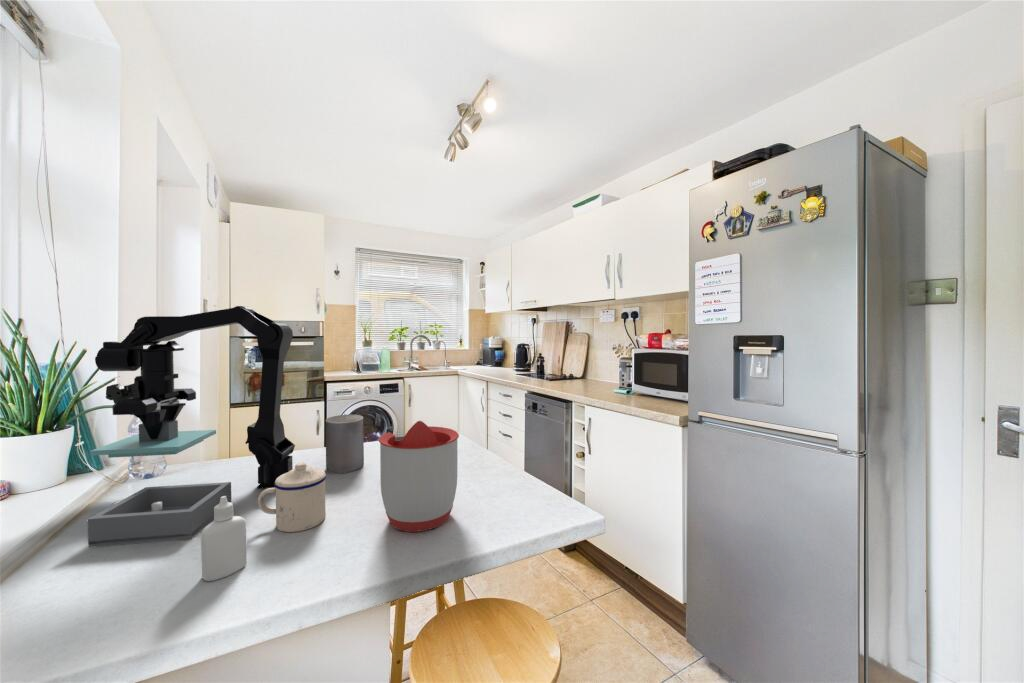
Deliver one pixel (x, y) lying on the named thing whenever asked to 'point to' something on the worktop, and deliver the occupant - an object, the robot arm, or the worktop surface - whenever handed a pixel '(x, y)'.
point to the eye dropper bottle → (223, 543)
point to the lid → (154, 442)
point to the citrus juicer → (419, 476)
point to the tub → (157, 514)
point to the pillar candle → (344, 443)
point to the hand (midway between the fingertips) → (159, 437)
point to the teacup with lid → (298, 499)
